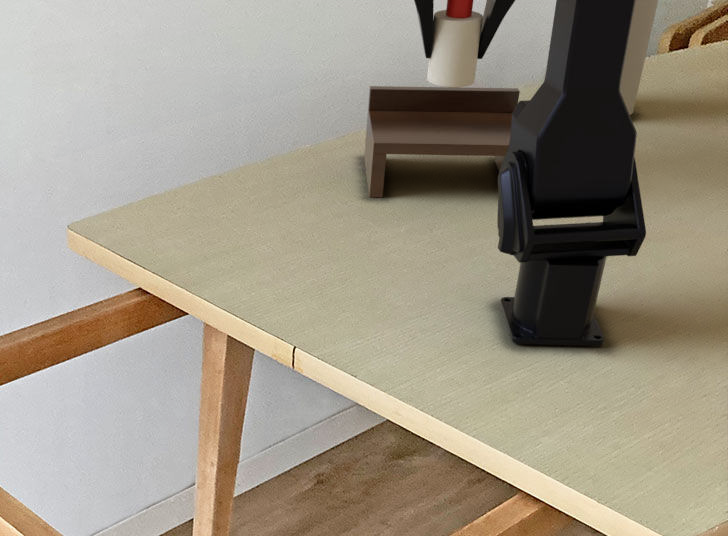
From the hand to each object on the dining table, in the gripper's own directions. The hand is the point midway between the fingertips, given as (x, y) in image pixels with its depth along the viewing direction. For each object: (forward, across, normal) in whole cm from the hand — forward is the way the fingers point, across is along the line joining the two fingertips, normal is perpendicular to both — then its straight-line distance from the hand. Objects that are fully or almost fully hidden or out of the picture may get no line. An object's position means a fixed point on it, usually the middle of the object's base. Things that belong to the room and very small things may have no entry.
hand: (453, 57), depth 96 cm
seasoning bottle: (+2, 0, 0) cm, 2 cm away
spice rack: (+11, 0, 0) cm, 11 cm away
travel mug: (+11, -19, -21) cm, 31 cm away
